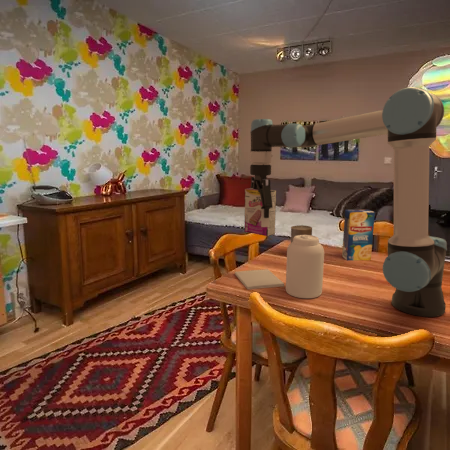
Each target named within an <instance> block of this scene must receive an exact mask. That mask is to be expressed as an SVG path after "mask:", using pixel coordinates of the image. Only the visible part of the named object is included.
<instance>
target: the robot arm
mask: <svg viewBox="0 0 450 450" xmlns="http://www.w3.org/2000/svg"><path fill="white" fill-rule="evenodd" d="M444 106H445V105H444V103H443V101H442V100H441V99H440V97H439V96H438V95H435V94H433V93H432V92H429V91H428V90H427V89H425V88H421V87H417V86H416V87H415V86H413V87H410V86H409V87H404V88H401V89H398V90H397V91H395V92H394V93H393V94H391V95H390V96H389V98H388V99H387V100H386V102H385V103H384V105H383V108H382V110H376V111H372V112H367V113H362V114H356V115H351V116H347V117H346V116H345V117H341V118H337V119H332V120H327V121H321V122H316V123H310V124H307V125H306V124H305V125H302V124H300V123H286V124H285V123H282V124H273V120H272V119H270V118H255V119H252V121H251V125H250V155H249V156H250V157H249V161H250V162H249V163H251V164H250V166H249V169H250V170H249V173H250V176H251V178H250V180H251V181H250V188H253V189H258V192H260V196H261V201H262V207H261V209H262V214H261V227H269V213H270V208H272V197H271V190H272V188H271V179H267V176H270V175H272V165H271V163H272V158H273V156H274V155H273V154H272V152H273V150H272V149H273V148H290V149H291V148H305V149H306V148H312V147H315V146H321V145H327V144H334V143H339V142H345V141H353V140H360V139H366V138H372V137H380V136H384V135H385V136H386V135H387V144H388V145H389V146H390V147H391V148H392V149H393V235H392V236H391V237H390V238H389V239H388V240H387V257H385V259H384V261H383V264H382V273H383V274H382V275H383V276H384V278H385V280H386V282H388V283H389V285H391V287H393V288H394V289H395V290H394V292H393V294H392V295H391V305H392V306H393V307H394V308H395V309H397V310H399V311H401V312H403V313H406V314H409V315H412V316H417V317H418V316H419V317H425V318H435V317H437V318H438V317H441V316H443V315H445V313H446V307H447V305H446V301H445V297H444V293H443V288H442V286H443V277H444V269H445V262H446V254H447V251H448V248H447V245H448V243H447V241H446V239H445V238H440V237H436V236H430V235H429V207H430V206H429V205H430V204H429V203H430V202H429V200H430V199H429V197H430V195H429V194H430V193H429V191H430V147H431V145H432V144H434V142H435V141H436V140H437V128H438V126H440V124H441V123H442V121H443V118H444V114H445V107H444Z"/></svg>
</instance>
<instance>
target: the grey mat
mask: <svg viewBox="0 0 450 450" xmlns="http://www.w3.org/2000/svg"><path fill="white" fill-rule="evenodd" d="M234 275H235V276H236V278H238V280H239V281H240V282H241V284H242V285H243V286H244V287H245V288H246V290H257V289H258V290H259V289H269V288H277V287H285V283H284V282H283V280H281V279H279V277H278V276H276V275H275V274H274V273H273V272H272V271H271V270H269V269H268V268H266V269H253V270H240V271H234Z"/></svg>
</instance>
